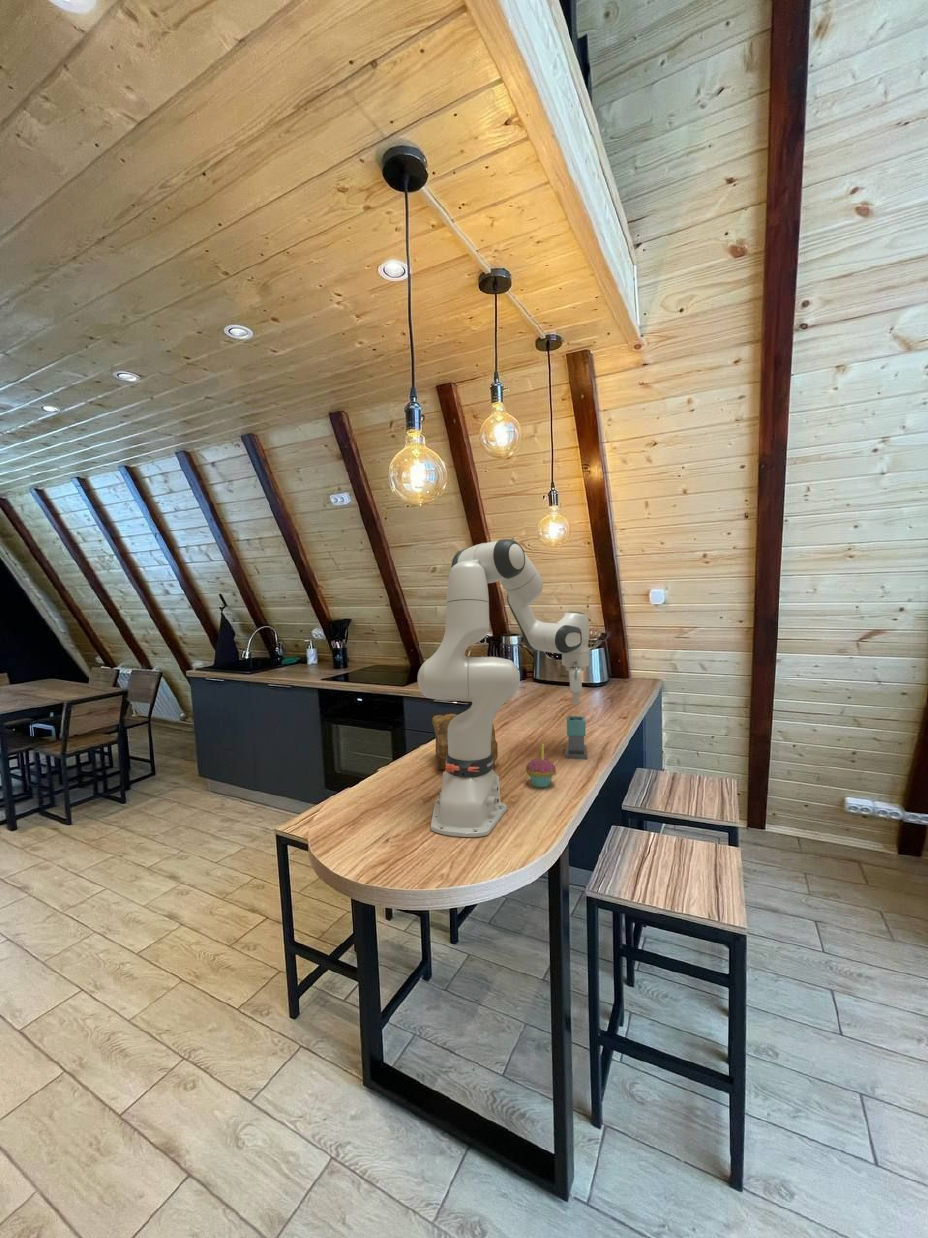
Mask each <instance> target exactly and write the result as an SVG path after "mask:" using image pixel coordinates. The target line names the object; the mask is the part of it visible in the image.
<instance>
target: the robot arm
mask: <svg viewBox="0 0 928 1238" xmlns="http://www.w3.org/2000/svg"><path fill="white" fill-rule="evenodd" d="M450 566H451V567H450V570H449V574H448V579H447V584H446V585H447V586H446V587H447V588H446V603H445V604H446V605H445V606H446V610H445V611H446V612H445V613H446V614H445V615H446V617H445V628H444V629H445V630H444V635H443V638H442V640H441V643H440V645H439V647H438V648H437V650H436V651H435V652H433V654H432V655H431V656H430V657H429V658H428V659H427V660H425V661H424V662H423V663H422V665H421V666H420V668H419V669H418V672H417V677H416V678H417V686H418V688H419V690H420V692H421V693H422V695H423V696H424V697H425V698H426V699H427V698H428V699H431V700H437V701H438V700H439V701H442V702H444V701H445V702H446V701H447V702H448V701H449V702H450V701H452V702H453V701H457V702H458V701H469V702H471V706H470V707H469V708H467V710H465V711H462V712H461V713H459V714H456V715H457V716H456V717H454V718H453V719H452V720H451V721H450V723H449V725H448V753H447V757H446V767H445V769H444V770H443V772H442V783H441V791H439V792H438V797H439V798H436V799H435V800H434V804H433V805H434V806H433V811H432V817H431V821H430V830H431V831H432V832H434V833H437V834H441V835H445V836H451V837H459V838H460V837H461V838H477V837H485V836H487V835H489V834H490V833H491V832H492V830H493V829H494V828H495V826H496V825H497V824H498V822H499V821H500V820H501V819H502V818H503V816H504V815H505V813H506V811H507V810H508V808H507V807H508V806H507V804H506V803H503V802H501V793H500V792H501V791H500V789H501V787H500V777H499V775H498V774H497V773H496V772H495V771H494V769H493V768H494V764H493V753H492V752H491V734H492V725H494V720H495V717H496V715H497V713H498V712H499V709H501V707H503V705H504V703H506V702H507V701H508V700H509V699H510V698H512V697H513V696H514V695H515V694H516V692H517V690H518V689H519V687H520V686H519V685H520V680H521V677H520V672H519V669H518V667H517V666H516V664H515V662H514V661H512V660H511V659H508V658H507V659H506V658H504V657H503V658H502V657H497V656H467V655H466V651H467V649H468V648H469V647H471V646H472V645H475V644H476V643H479V642H480V641H482V640H483V639H484V638H486V637H487V635H488V634H489V631H490V597H489V588H488V584H493V583H499V582H500V584H501V586H502V587H503V589H504V590H505V592H506V594H507V595H506V601H507V605H508V606H509V609H510V611H511V613H512V615H513V617H514V619H515V621H516V624H517V626H518V627H519V629H520V632H521V636H522V639H523V643H524V645H525V646H526V648H527V649H528V650H529V651H532V652H545V653H551V654H553V653H554V654H561V666H564V667H565V670H566V671H567V672H568V677H569V693H570V694H572V705H574V706H575V705H576V706H577V705H579V701H580V700H579V699H580V694H582V692H583V685H582V683H583V672H584V671H586V667H588V666H590V649H589V641H590V625H589V618H588V616H587V614H585V613H583V612H578V611H577V612H576V611H564V614H563V616H562V618H561V619H560V620H558V621H557V622H546V621H545V622H544V621H541V620H539V619H537V618H536V617H535V614H534V613H533V610H532V608H531V606H530V605H531V604H533V603H534V602H536V601H537V599H538V598H539V597H540V595H542V592H543V588H544V581H543V578H542V576H541V574H540V573H539V571H538V569H537V568H536V566H535V565H534V563H533V562H532V560H531V558H530V557H529V556H528V555H527V554H526V553H525V551H524V548H523V547H522V546H521V544H519V543H518V542H517V541H516V540H515V539H511V538H503V539H499V540H493V541H489V542H481V543H479V544H475V545H473V546H471V547H468V548H467V547H465V548H463V549H461V550H460V551H457V552H456V554H455V555H454V556H453V557H452V561H451V565H450Z"/></svg>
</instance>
